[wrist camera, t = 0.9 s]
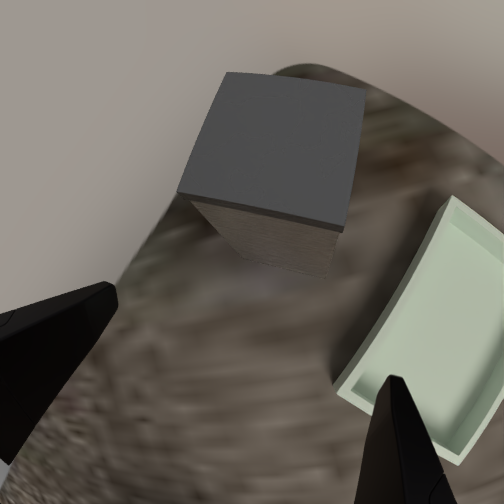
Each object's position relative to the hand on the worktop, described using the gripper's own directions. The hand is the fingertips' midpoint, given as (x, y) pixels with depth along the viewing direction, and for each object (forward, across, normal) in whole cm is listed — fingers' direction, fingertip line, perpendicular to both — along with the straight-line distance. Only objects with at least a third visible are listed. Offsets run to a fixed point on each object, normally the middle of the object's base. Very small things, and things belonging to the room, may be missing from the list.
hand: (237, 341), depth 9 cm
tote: (+12, -12, +6) cm, 18 cm away
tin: (+15, +1, +3) cm, 15 cm away
